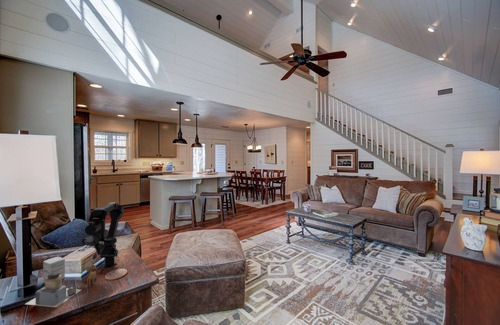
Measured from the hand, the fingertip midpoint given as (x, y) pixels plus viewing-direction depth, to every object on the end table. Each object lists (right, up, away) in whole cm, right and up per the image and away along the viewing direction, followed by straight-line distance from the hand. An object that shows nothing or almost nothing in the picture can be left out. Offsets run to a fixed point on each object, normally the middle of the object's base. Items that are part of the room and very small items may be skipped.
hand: (99, 254), depth 133 cm
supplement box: (-22, -13, -6) cm, 26 cm away
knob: (-7, -12, -24) cm, 27 cm away
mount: (-8, -13, -22) cm, 27 cm away
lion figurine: (+1, -13, -8) cm, 16 cm away
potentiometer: (-1, -12, -19) cm, 23 cm away
